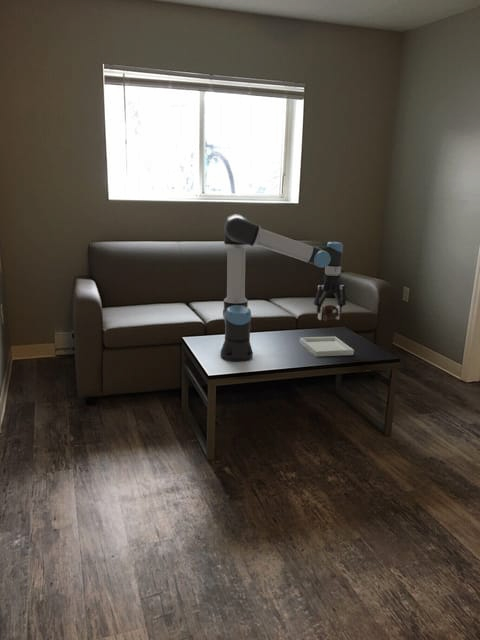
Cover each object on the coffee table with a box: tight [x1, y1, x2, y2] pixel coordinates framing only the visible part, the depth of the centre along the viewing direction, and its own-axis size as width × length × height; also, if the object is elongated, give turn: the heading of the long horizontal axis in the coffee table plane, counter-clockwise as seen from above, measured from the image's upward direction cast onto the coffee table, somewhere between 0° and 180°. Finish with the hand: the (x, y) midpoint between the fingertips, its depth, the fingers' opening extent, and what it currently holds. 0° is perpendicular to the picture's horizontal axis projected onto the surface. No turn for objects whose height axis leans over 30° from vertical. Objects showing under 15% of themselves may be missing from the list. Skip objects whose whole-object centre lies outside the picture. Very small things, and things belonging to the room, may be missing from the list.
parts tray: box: [298, 336, 355, 357], centre depth 259 cm, size 20×22×2 cm
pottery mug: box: [321, 304, 340, 322], centre depth 255 cm, size 12×10×8 cm
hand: (328, 318), depth 255 cm, fingers closed on pottery mug, 9 cm apart
